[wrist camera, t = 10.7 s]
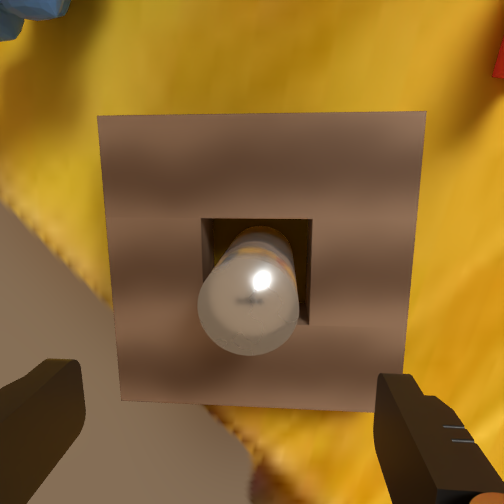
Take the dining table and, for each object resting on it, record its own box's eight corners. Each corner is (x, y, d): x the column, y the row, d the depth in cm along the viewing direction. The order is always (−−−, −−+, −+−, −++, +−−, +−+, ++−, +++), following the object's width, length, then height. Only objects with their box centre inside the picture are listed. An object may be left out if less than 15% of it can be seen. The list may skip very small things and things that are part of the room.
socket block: (126, 124, 25) (96, 115, 21) (402, 121, 24) (426, 111, 20) (143, 369, 29) (121, 400, 25) (382, 379, 27) (398, 413, 23)
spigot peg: (228, 225, 26) (195, 258, 16) (293, 226, 26) (300, 259, 16) (229, 287, 27) (198, 354, 17) (292, 289, 26) (297, 357, 17)
